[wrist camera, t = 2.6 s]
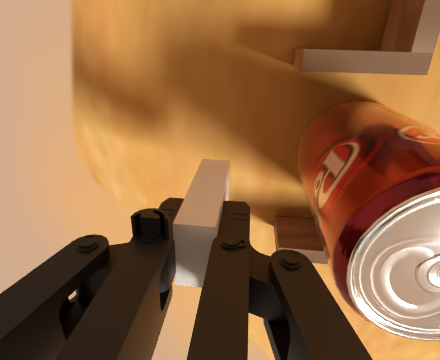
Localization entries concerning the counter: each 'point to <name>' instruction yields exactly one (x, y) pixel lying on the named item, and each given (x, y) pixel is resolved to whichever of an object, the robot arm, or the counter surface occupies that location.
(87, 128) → the counter surface
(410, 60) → the trap box
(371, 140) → the soda can
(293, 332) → the robot arm
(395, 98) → the counter surface
